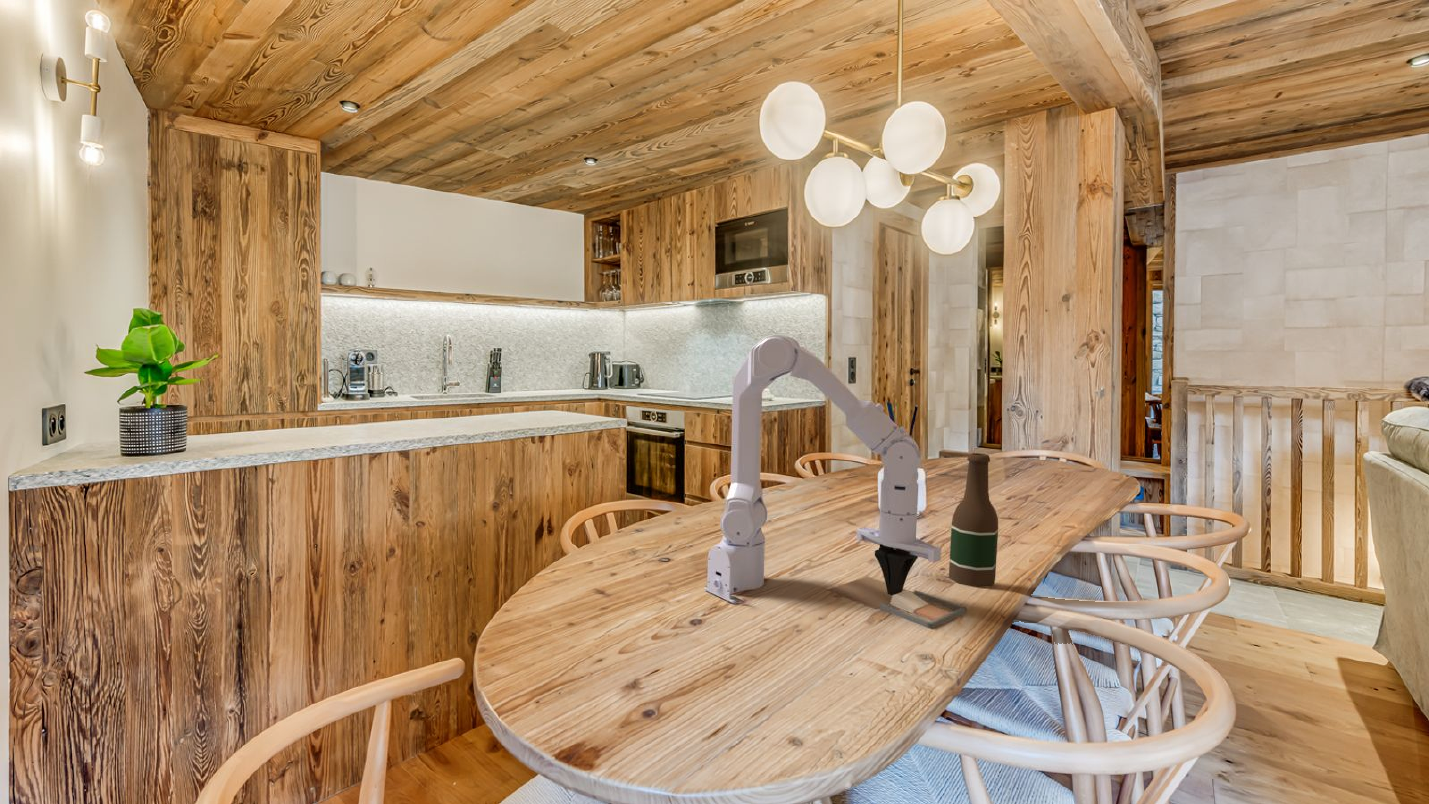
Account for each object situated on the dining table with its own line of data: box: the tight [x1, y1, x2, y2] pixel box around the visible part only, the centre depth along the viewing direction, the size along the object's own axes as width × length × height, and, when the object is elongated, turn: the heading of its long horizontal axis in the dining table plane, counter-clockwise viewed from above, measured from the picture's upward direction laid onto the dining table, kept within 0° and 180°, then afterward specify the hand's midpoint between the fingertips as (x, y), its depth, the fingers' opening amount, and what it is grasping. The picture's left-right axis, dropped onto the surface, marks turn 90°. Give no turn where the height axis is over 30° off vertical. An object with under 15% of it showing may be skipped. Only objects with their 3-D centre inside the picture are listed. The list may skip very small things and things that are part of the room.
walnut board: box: [826, 575, 914, 610], centre depth 107 cm, size 11×10×2 cm
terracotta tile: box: [913, 604, 952, 621], centre depth 98 cm, size 4×4×2 cm
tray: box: [878, 590, 968, 629], centre depth 100 cm, size 10×9×2 cm
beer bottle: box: [948, 452, 999, 588], centre depth 113 cm, size 8×8×24 cm
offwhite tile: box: [890, 589, 929, 614], centre depth 101 cm, size 4×4×2 cm
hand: (894, 593), depth 104 cm, fingers closed
